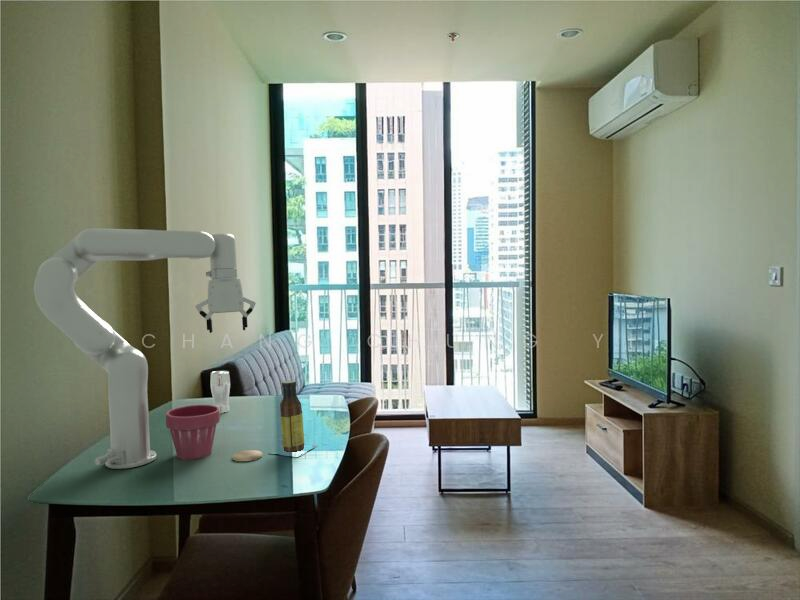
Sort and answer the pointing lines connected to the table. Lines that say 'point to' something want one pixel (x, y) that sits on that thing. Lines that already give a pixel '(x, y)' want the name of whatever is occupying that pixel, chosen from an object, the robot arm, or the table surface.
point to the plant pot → (193, 430)
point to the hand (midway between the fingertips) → (227, 331)
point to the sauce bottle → (291, 418)
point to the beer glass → (220, 389)
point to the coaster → (247, 455)
